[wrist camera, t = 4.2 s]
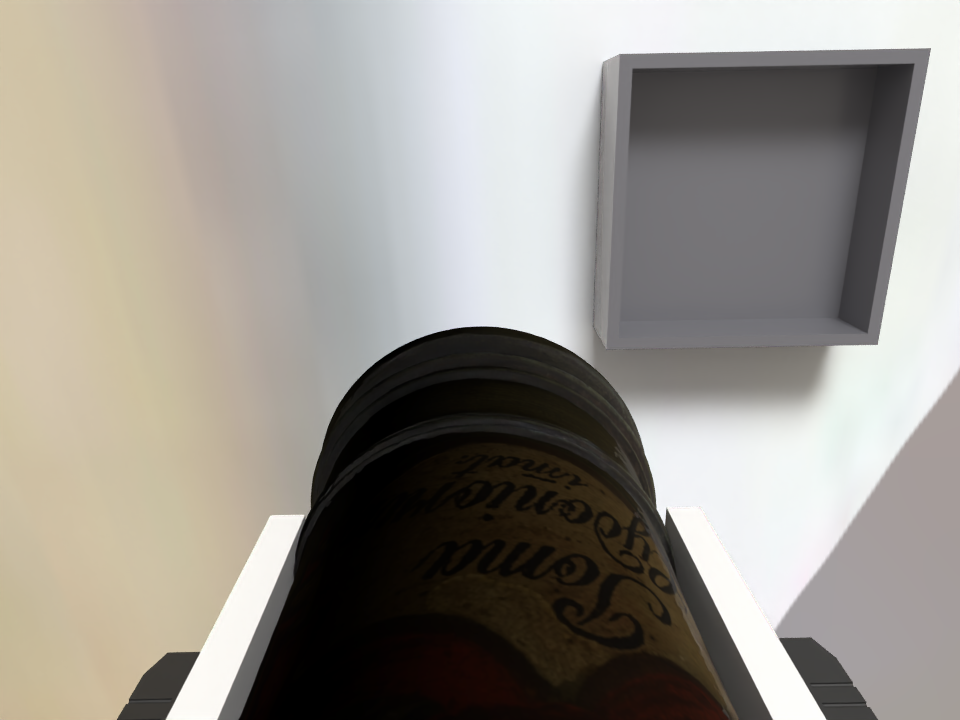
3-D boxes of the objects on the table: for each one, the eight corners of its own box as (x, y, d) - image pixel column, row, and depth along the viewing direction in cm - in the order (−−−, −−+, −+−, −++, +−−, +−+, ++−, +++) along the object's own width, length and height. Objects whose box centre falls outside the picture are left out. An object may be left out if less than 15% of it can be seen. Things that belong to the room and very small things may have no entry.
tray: (593, 326, 32) (606, 349, 29) (603, 62, 29) (619, 54, 25) (836, 322, 32) (877, 344, 29) (878, 56, 29) (930, 48, 25)
